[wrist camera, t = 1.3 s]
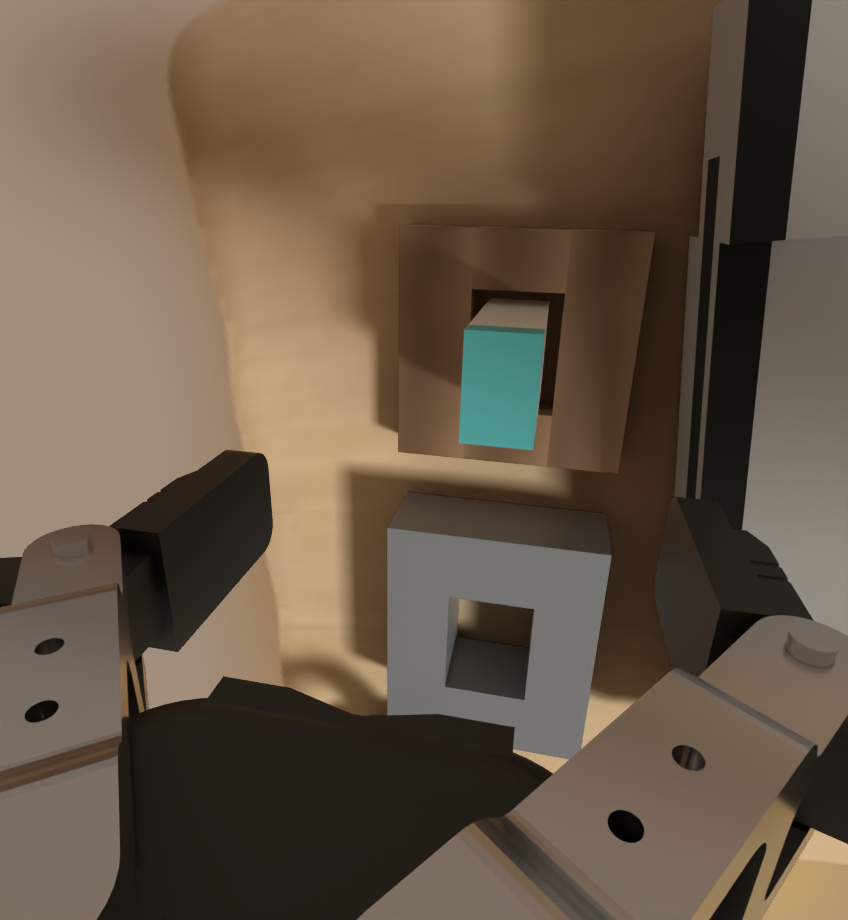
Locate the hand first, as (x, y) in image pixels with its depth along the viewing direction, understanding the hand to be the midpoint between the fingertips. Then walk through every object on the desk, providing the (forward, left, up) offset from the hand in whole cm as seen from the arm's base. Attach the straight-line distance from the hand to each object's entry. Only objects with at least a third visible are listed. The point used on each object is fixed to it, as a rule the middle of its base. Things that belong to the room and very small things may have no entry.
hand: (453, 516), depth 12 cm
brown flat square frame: (0, 0, -17) cm, 17 cm away
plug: (0, 0, -17) cm, 17 cm away
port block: (0, +14, -17) cm, 22 cm away
